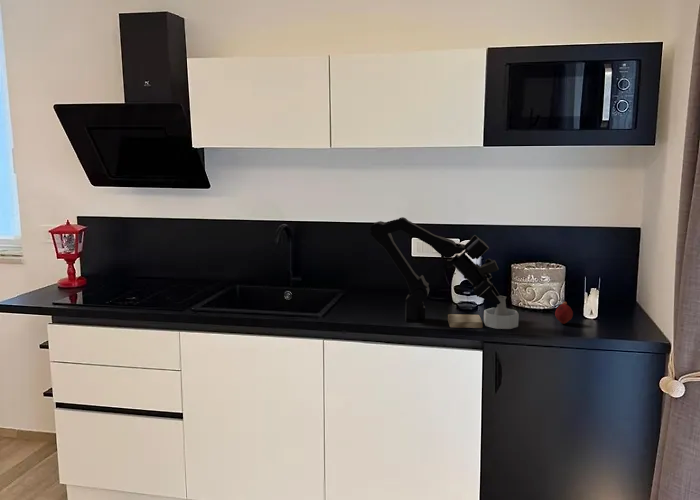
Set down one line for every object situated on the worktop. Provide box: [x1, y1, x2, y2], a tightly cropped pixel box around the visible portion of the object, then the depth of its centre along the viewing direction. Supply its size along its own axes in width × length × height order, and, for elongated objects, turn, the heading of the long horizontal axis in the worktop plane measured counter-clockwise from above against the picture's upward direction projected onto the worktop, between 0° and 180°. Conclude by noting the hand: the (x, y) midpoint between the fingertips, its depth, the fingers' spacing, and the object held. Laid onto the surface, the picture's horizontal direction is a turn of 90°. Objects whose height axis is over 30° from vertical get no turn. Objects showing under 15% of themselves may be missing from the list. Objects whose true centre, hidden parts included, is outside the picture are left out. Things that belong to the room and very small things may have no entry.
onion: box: [554, 301, 574, 325], centre depth 223 cm, size 6×6×8 cm
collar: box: [483, 307, 520, 330], centre depth 223 cm, size 11×11×4 cm
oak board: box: [447, 313, 484, 329], centre depth 224 cm, size 11×10×2 cm
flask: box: [494, 295, 509, 316], centre depth 223 cm, size 7×7×10 cm
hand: (499, 300), depth 222 cm, fingers open, 9 cm apart
